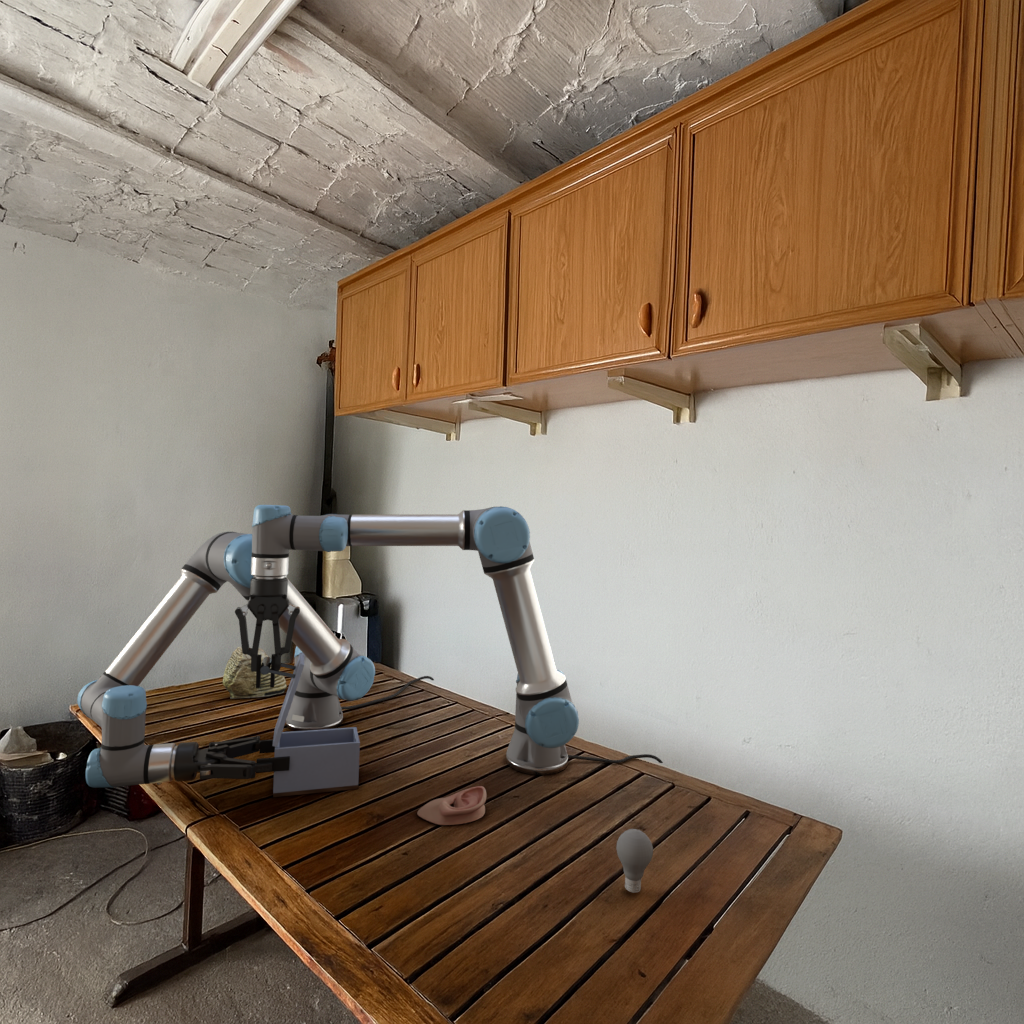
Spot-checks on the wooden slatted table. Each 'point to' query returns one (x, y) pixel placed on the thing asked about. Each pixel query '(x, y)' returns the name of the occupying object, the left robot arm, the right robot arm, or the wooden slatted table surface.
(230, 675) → the fossil
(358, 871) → the wooden slatted table surface
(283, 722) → the lid
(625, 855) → the light bulb
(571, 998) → the wooden slatted table surface
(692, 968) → the wooden slatted table surface
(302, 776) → the chest
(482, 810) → the anatomical model
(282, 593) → the right robot arm
